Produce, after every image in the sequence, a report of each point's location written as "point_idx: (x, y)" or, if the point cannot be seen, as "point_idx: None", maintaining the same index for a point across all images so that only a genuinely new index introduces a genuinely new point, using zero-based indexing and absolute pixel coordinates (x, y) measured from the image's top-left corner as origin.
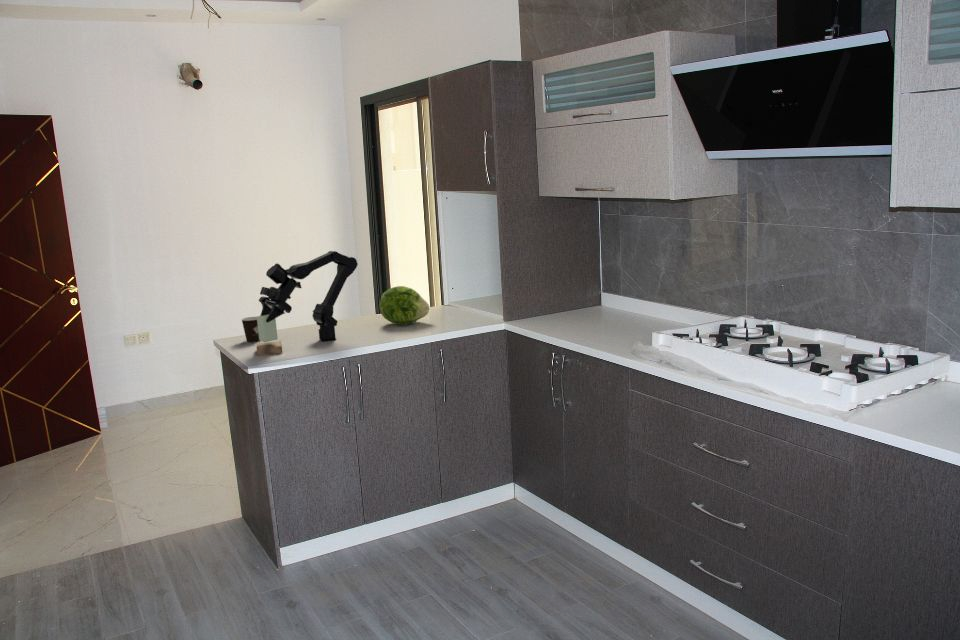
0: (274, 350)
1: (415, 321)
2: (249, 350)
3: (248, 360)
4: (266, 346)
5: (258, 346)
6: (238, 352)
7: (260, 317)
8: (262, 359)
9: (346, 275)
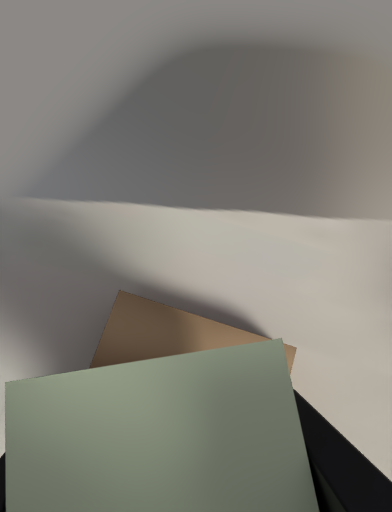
0: None
1: None
2: (325, 309)
3: (53, 220)
4: None
5: (176, 323)
6: (314, 238)
7: (114, 365)
8: (4, 292)
9: None
